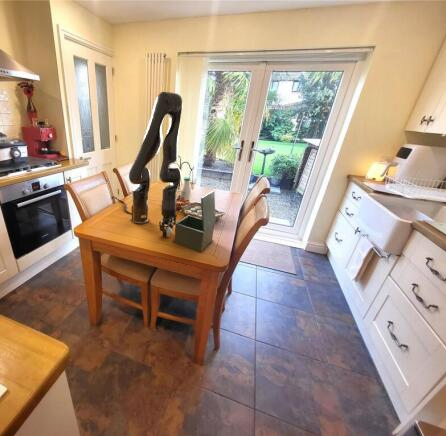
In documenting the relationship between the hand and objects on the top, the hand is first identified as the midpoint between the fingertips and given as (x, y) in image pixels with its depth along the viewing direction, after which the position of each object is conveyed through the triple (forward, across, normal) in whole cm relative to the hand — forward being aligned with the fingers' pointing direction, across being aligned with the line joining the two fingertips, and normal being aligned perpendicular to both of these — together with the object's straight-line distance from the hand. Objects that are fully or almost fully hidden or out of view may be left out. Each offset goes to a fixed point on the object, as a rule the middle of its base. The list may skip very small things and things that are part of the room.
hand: (167, 234), depth 128 cm
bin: (+1, -4, +14) cm, 15 cm away
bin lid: (-18, -4, +20) cm, 27 cm away
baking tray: (+1, -37, +2) cm, 37 cm away
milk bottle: (+1, -48, -16) cm, 51 cm away
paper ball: (+1, 0, 0) cm, 1 cm away
